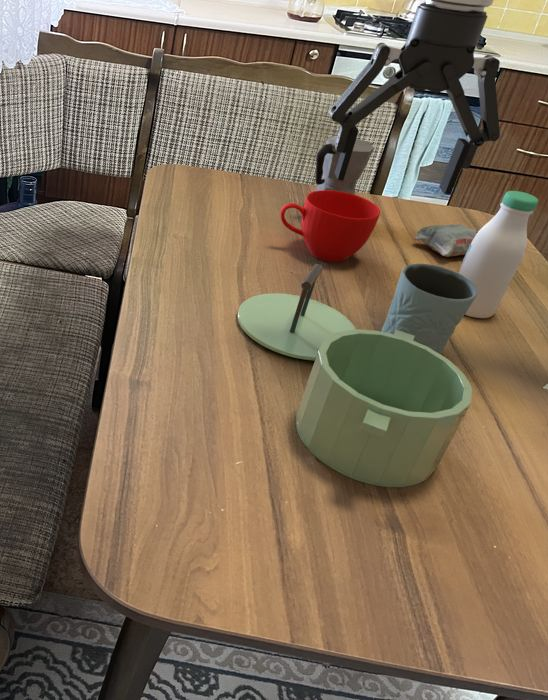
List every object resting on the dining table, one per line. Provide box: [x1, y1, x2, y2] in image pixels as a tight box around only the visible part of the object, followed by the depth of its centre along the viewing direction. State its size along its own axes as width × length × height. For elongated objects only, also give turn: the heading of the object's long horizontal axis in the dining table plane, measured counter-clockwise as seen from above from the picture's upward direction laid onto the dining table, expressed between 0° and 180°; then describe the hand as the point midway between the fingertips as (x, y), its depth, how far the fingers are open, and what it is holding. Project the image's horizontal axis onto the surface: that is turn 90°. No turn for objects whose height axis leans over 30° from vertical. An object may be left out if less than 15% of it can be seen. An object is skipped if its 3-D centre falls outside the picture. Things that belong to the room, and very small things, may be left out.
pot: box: [295, 328, 473, 488], centre depth 82 cm, size 17×22×10 cm
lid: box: [237, 263, 357, 362], centre depth 102 cm, size 18×18×10 cm
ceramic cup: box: [279, 190, 381, 263], centre depth 125 cm, size 13×17×10 cm
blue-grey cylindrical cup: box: [380, 263, 477, 355], centre depth 99 cm, size 10×10×12 cm
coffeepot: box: [314, 136, 375, 195], centre depth 139 cm, size 15×9×18 cm, turn 122°
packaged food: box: [414, 223, 479, 258], centre depth 132 cm, size 9×12×5 cm
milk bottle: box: [456, 190, 539, 319], centre depth 110 cm, size 8×8×20 cm
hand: (391, 184), depth 90 cm, fingers open, 13 cm apart
